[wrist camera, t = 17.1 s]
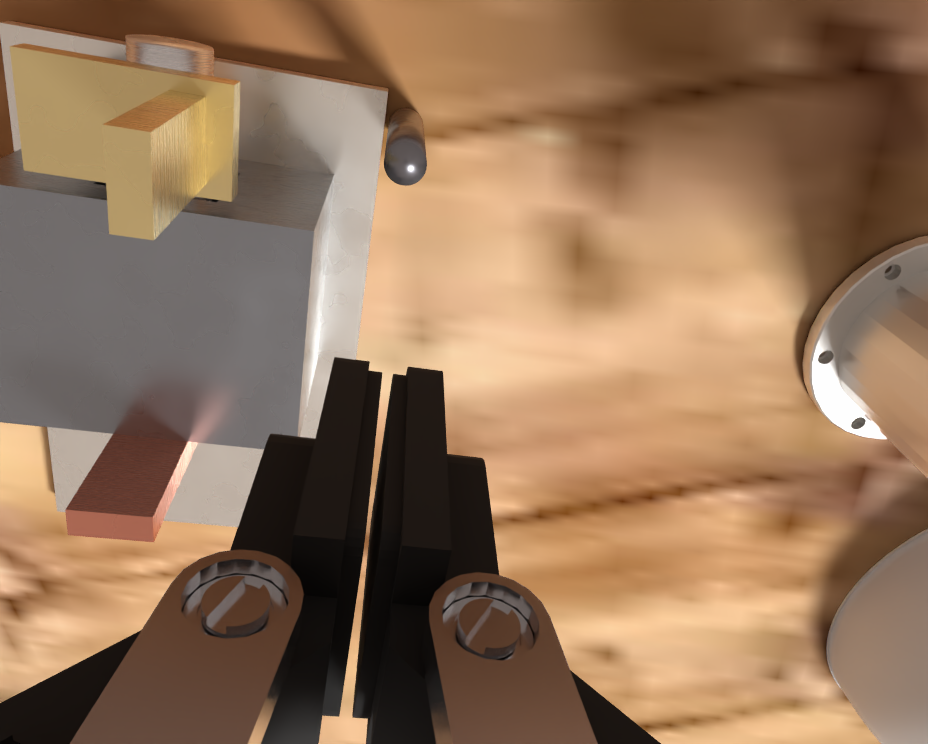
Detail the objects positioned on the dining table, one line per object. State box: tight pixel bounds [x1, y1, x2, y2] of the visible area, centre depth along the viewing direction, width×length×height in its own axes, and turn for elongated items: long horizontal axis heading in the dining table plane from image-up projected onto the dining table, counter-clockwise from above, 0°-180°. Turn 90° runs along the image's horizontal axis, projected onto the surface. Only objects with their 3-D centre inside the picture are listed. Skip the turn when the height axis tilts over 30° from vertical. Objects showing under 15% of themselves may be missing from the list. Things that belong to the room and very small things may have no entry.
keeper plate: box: [10, 43, 240, 240], centre depth 22 cm, size 4×7×7 cm, turn 80°
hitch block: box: [0, 21, 427, 527], centre depth 34 cm, size 26×18×9 cm
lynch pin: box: [65, 34, 214, 542], centre depth 28 cm, size 16×5×11 cm, turn 170°
